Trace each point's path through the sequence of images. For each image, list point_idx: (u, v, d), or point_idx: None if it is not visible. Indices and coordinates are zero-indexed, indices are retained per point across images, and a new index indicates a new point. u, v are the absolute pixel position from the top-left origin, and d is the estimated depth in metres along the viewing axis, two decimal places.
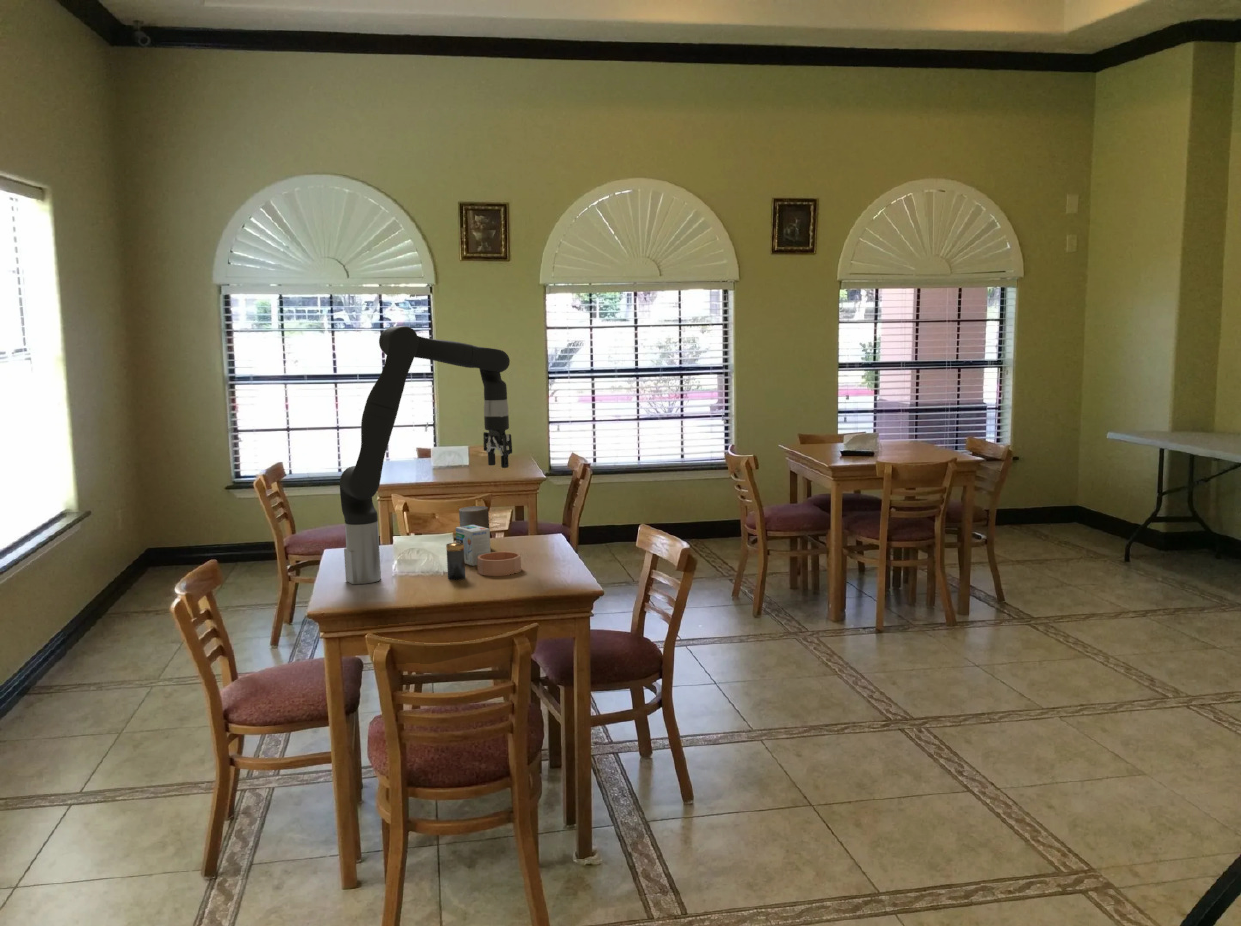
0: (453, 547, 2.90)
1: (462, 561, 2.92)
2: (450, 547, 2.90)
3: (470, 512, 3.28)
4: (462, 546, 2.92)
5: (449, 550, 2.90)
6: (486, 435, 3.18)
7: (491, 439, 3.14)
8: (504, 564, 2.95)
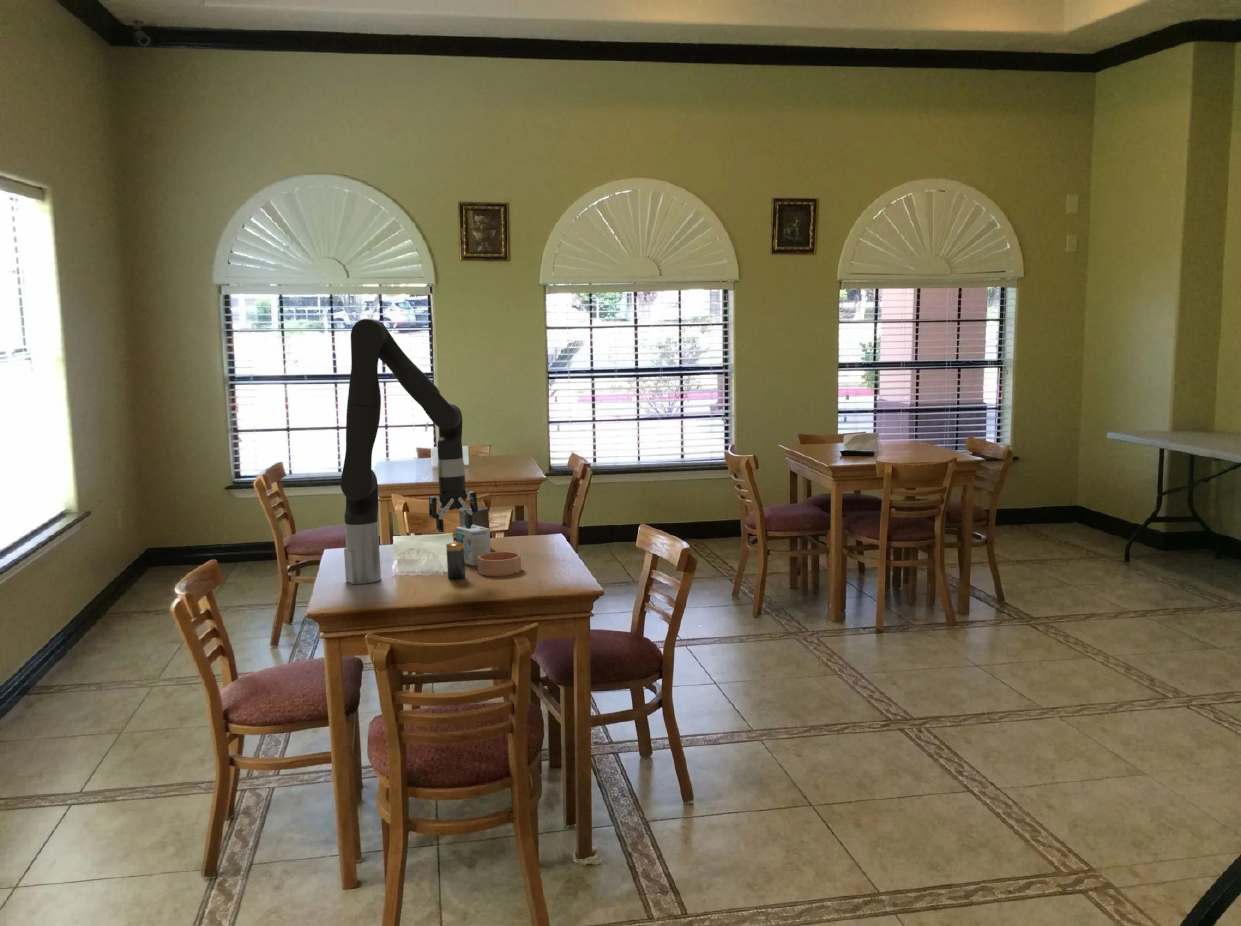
0: (453, 547, 2.90)
1: (462, 561, 2.92)
2: (450, 547, 2.90)
3: None
4: (462, 546, 2.92)
5: (449, 550, 2.90)
6: None
7: None
8: (504, 564, 2.95)
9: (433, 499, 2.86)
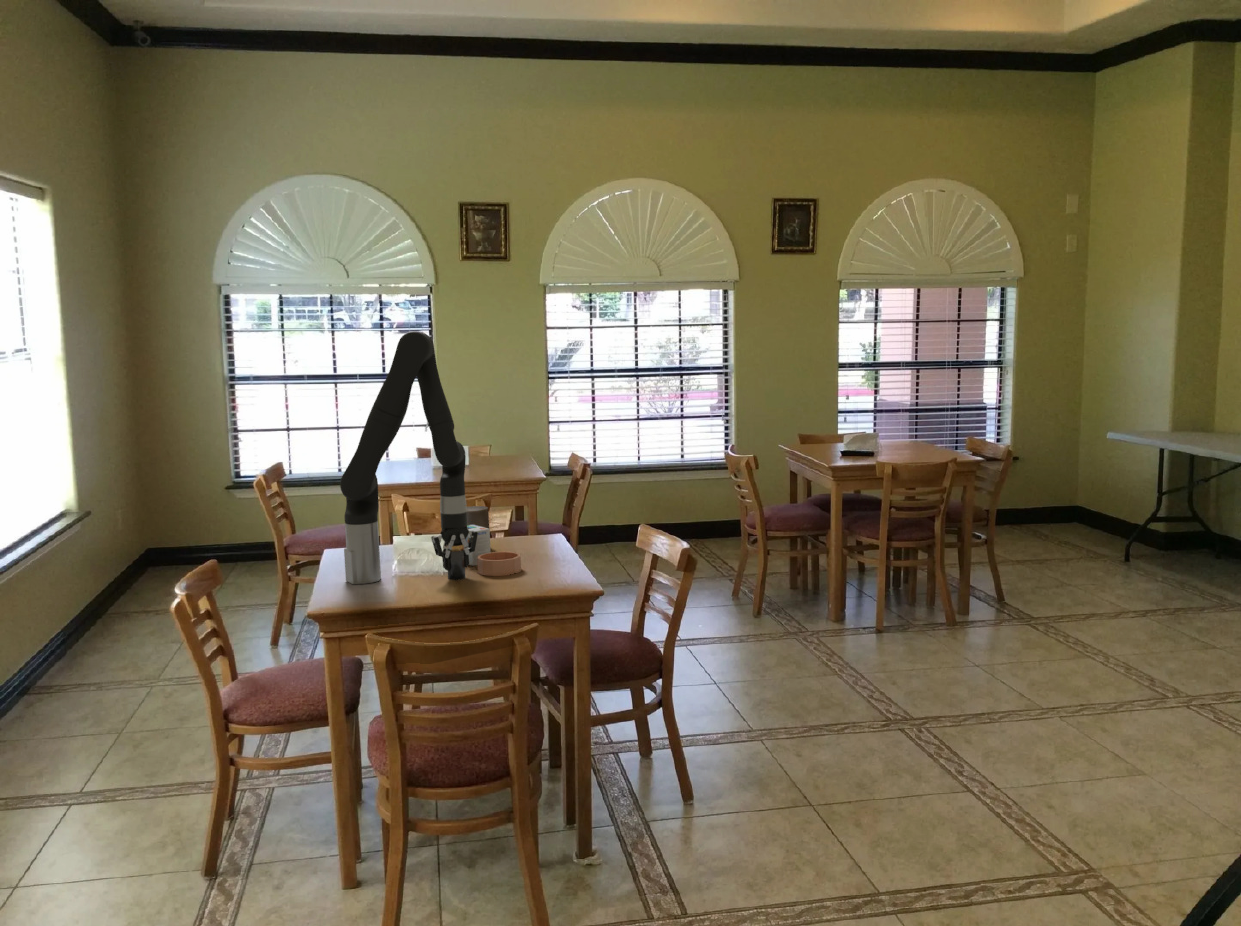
0: (453, 547, 2.90)
1: (462, 561, 2.92)
2: None
3: (470, 512, 3.28)
4: (462, 546, 2.92)
5: None
6: None
7: None
8: (504, 564, 2.95)
9: (435, 539, 2.88)
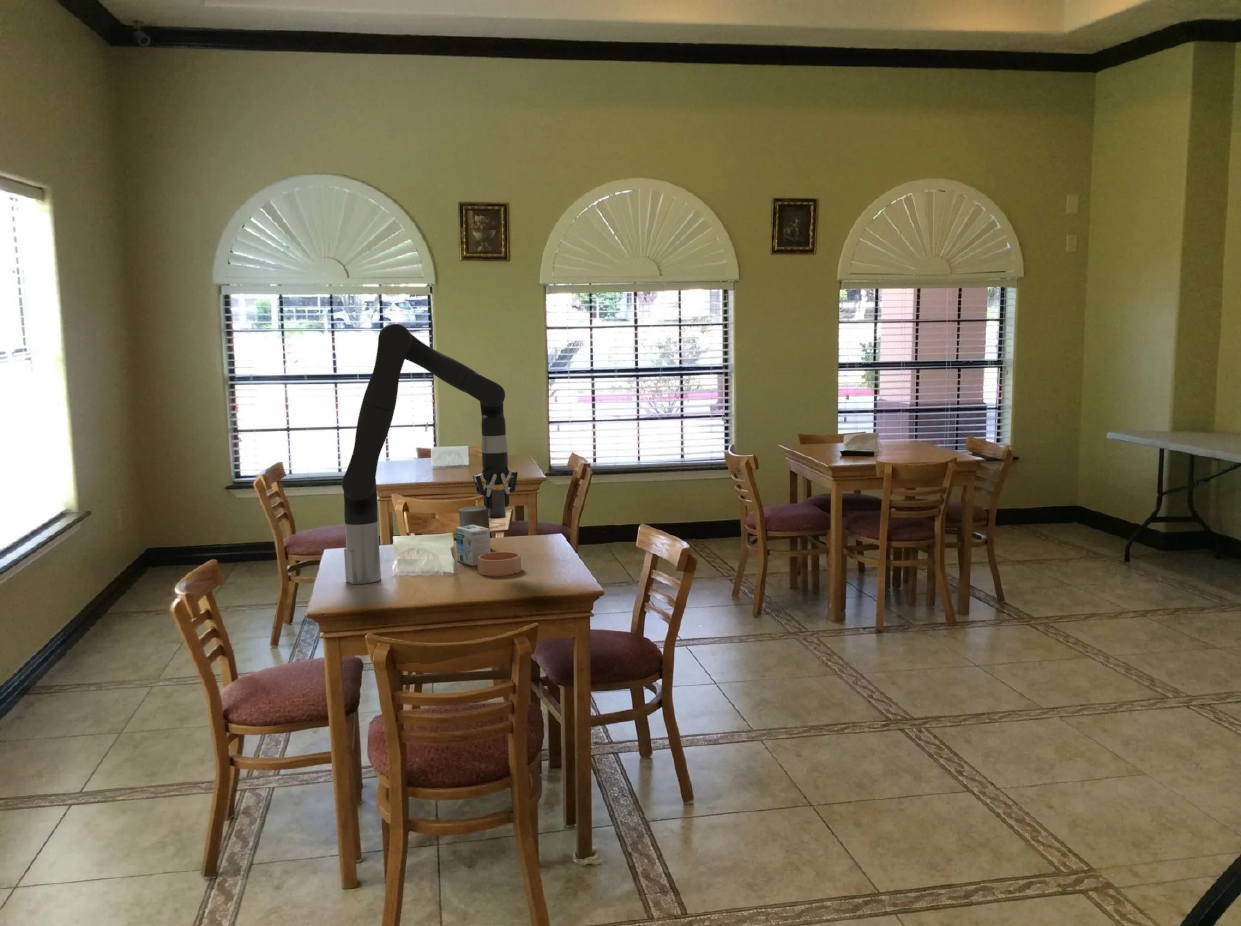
0: (494, 486, 2.96)
1: (503, 500, 2.98)
2: None
3: (470, 512, 3.28)
4: (503, 485, 2.97)
5: None
6: None
7: None
8: (504, 564, 2.95)
9: (477, 478, 2.93)
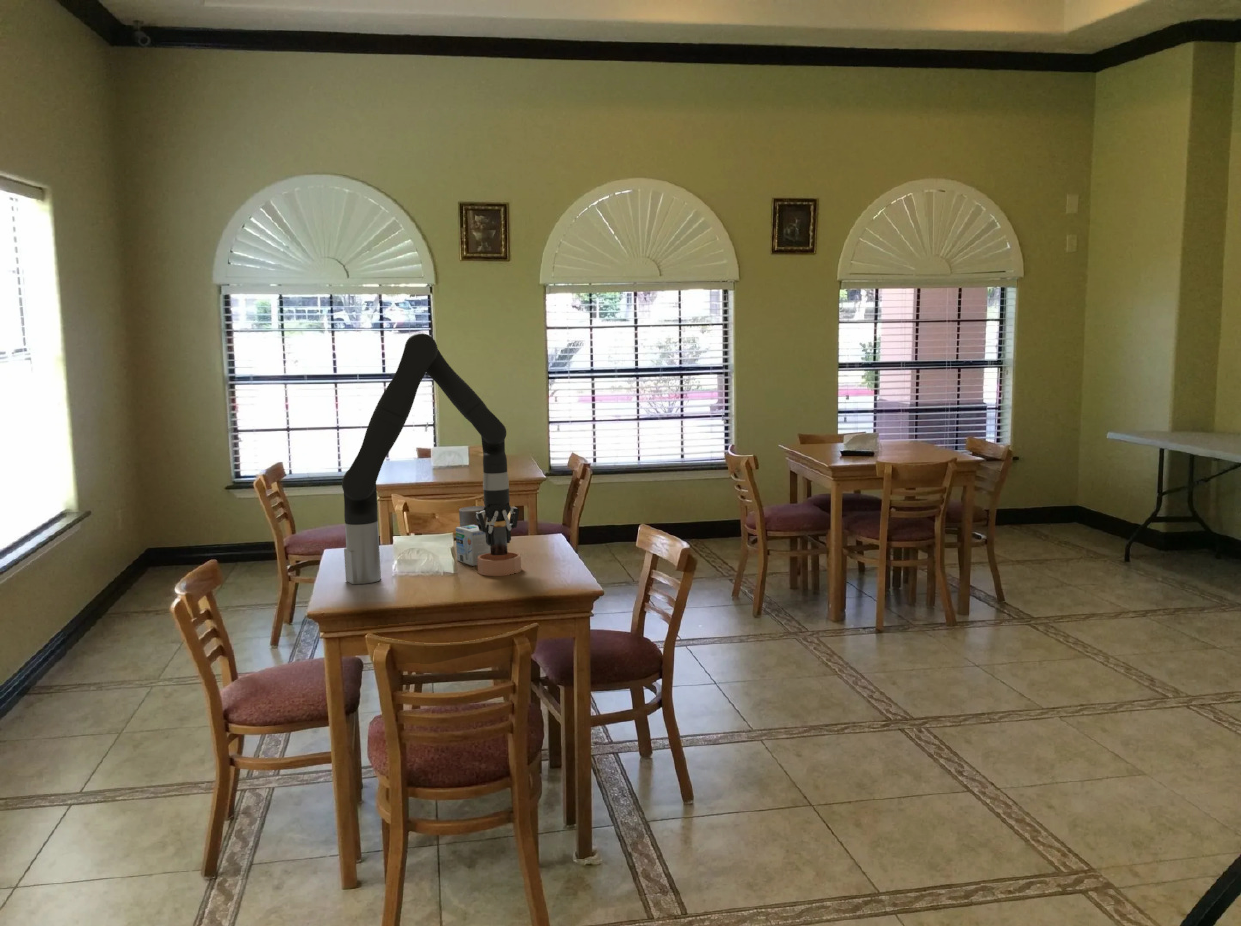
0: (496, 523, 2.97)
1: (505, 537, 2.99)
2: None
3: (470, 512, 3.28)
4: (505, 522, 2.99)
5: None
6: None
7: None
8: (504, 564, 2.95)
9: (479, 515, 2.95)
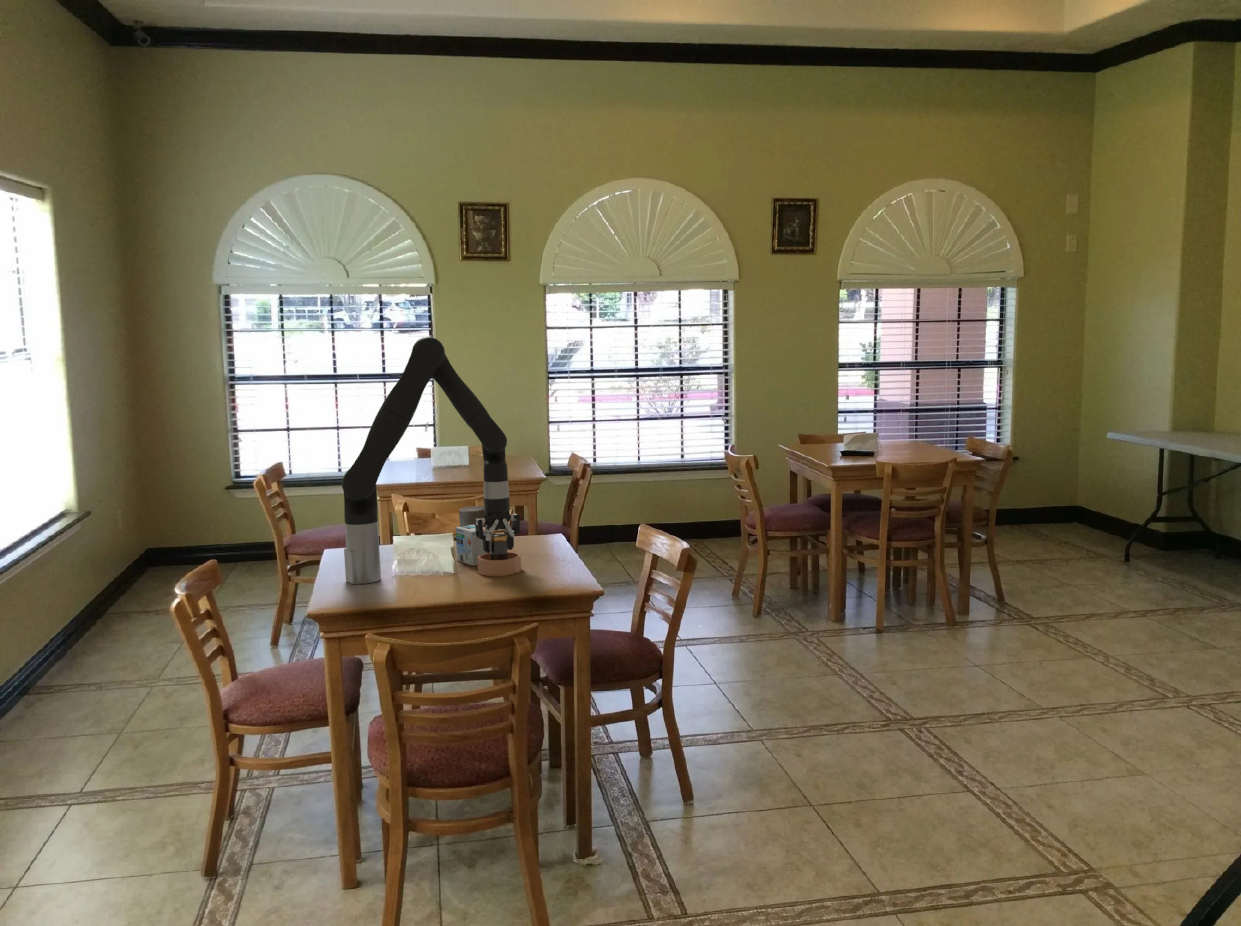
0: (497, 538, 2.98)
1: (505, 552, 3.00)
2: (494, 538, 2.98)
3: (470, 512, 3.28)
4: (505, 537, 2.99)
5: (493, 541, 2.98)
6: None
7: None
8: (504, 564, 2.95)
9: (479, 521, 2.95)
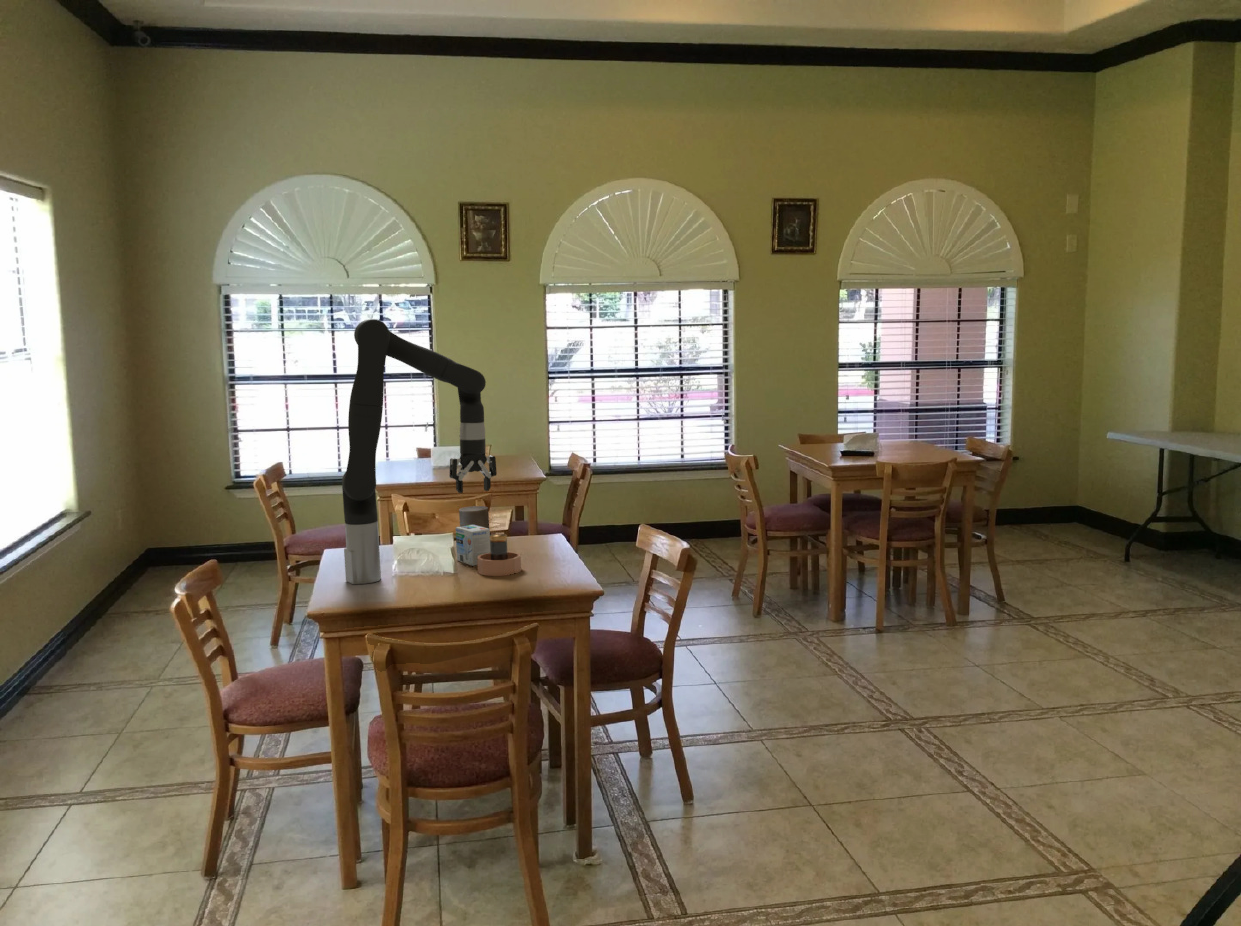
0: (496, 538, 2.98)
1: (505, 552, 3.00)
2: (494, 538, 2.98)
3: (470, 512, 3.28)
4: (505, 537, 2.99)
5: (493, 541, 2.98)
6: None
7: None
8: (504, 564, 2.95)
9: (454, 460, 2.97)
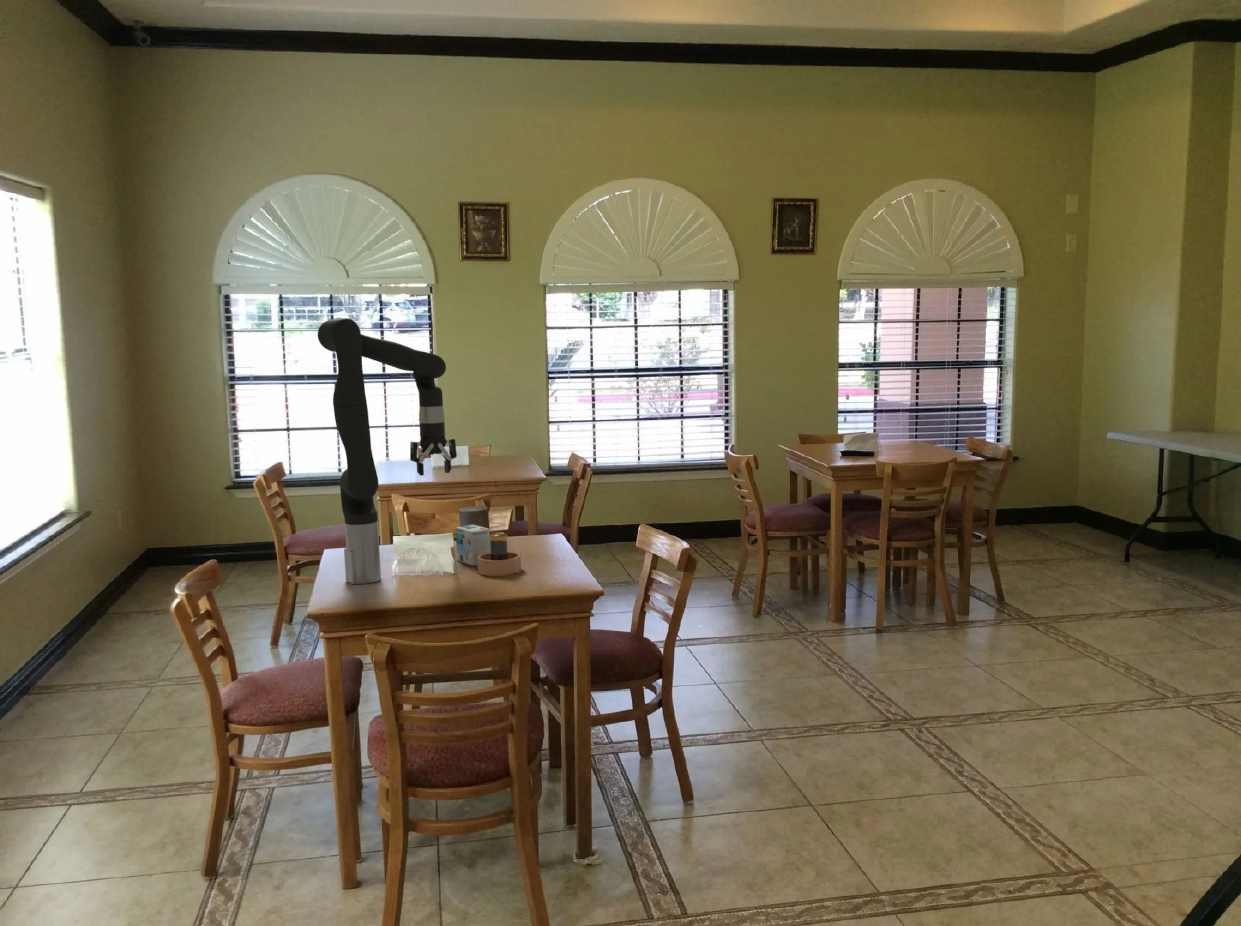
0: (497, 538, 2.98)
1: (505, 552, 3.00)
2: (494, 538, 2.98)
3: (470, 512, 3.28)
4: (505, 537, 2.99)
5: (493, 541, 2.98)
6: None
7: None
8: (504, 564, 2.95)
9: (414, 444, 3.04)
